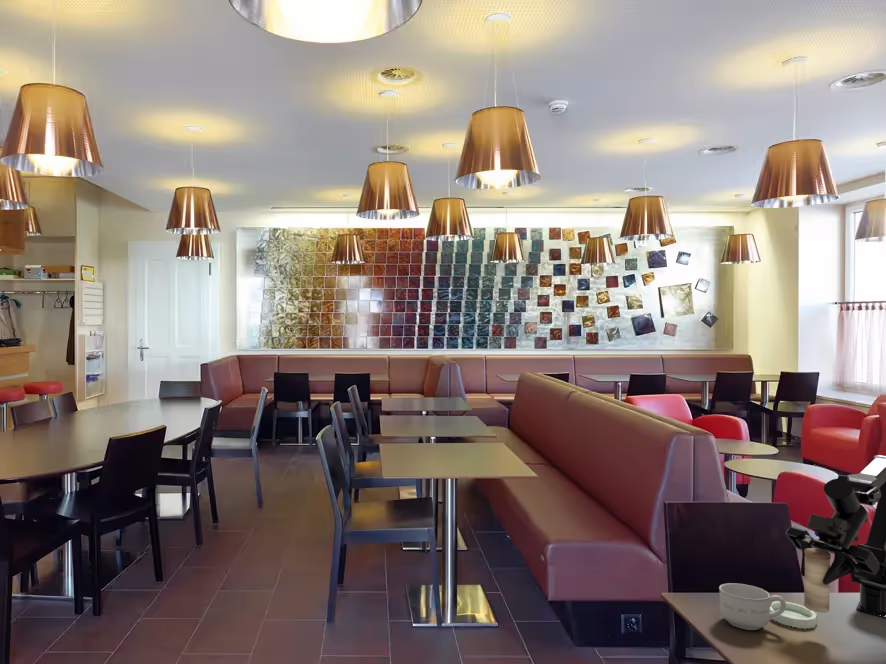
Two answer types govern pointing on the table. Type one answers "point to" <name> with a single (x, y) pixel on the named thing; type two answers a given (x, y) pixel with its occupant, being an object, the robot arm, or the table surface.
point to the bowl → (795, 615)
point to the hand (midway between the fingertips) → (812, 579)
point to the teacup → (747, 605)
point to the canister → (816, 580)
